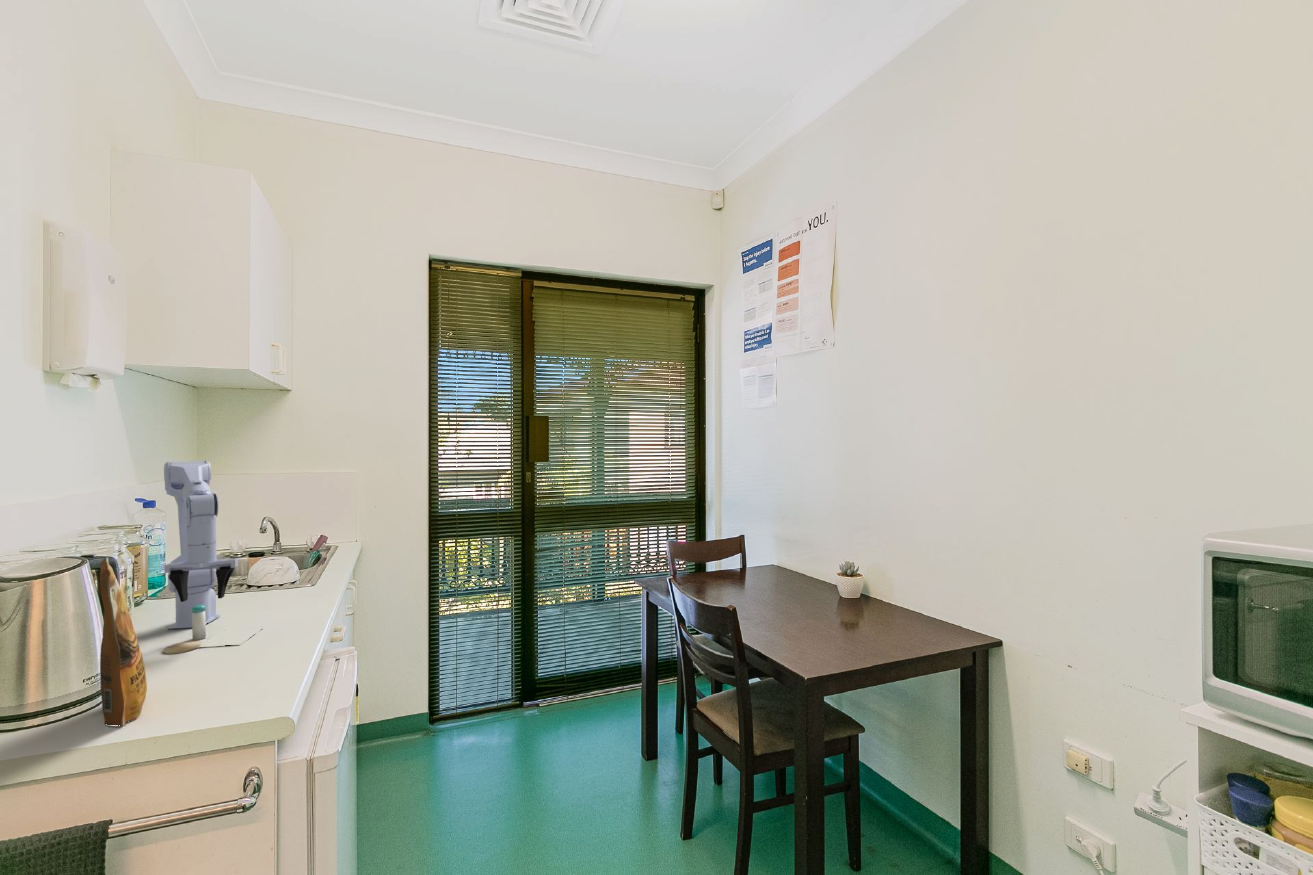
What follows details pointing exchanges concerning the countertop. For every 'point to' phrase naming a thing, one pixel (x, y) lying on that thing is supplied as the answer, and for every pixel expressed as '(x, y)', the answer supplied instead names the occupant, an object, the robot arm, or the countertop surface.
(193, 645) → the coaster
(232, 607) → the countertop surface
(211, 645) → the paper
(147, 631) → the countertop surface
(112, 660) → the pancake mix bag
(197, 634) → the marker
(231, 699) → the countertop surface
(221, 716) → the countertop surface
